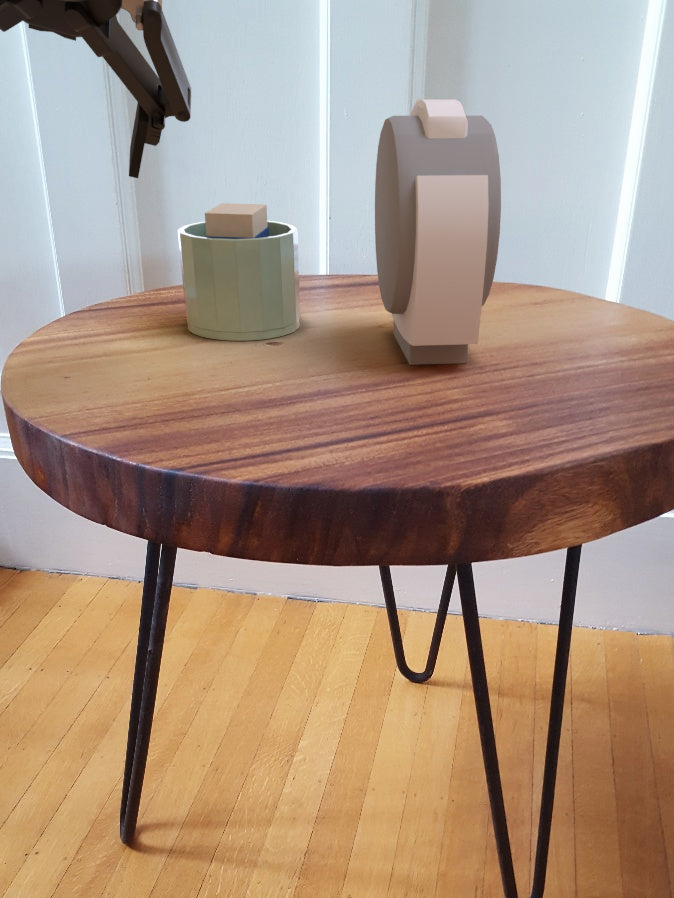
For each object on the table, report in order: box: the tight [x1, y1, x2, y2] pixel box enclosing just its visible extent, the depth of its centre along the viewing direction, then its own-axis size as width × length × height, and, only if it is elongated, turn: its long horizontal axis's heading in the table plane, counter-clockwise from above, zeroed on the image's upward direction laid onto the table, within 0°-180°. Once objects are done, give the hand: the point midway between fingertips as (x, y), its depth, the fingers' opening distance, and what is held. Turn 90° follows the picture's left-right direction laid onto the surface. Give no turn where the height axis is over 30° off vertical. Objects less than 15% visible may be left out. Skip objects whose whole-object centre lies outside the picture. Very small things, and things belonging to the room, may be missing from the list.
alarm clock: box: [374, 98, 502, 366], centre depth 85 cm, size 18×8×20 cm, turn 7°
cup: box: [177, 220, 301, 342], centre depth 94 cm, size 11×11×9 cm
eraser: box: [204, 202, 269, 239], centre depth 93 cm, size 5×6×10 cm
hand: (47, 142), depth 76 cm, fingers open, 13 cm apart
